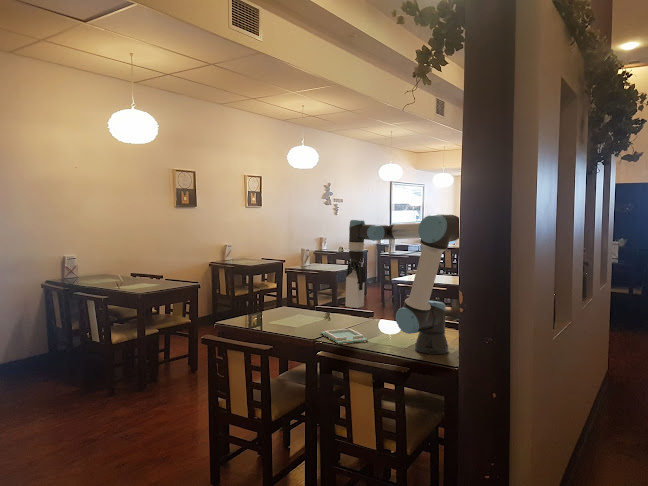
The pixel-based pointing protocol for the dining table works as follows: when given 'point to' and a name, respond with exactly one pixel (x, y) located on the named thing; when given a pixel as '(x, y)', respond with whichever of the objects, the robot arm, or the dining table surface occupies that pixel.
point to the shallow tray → (344, 336)
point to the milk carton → (353, 292)
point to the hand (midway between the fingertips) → (354, 294)
